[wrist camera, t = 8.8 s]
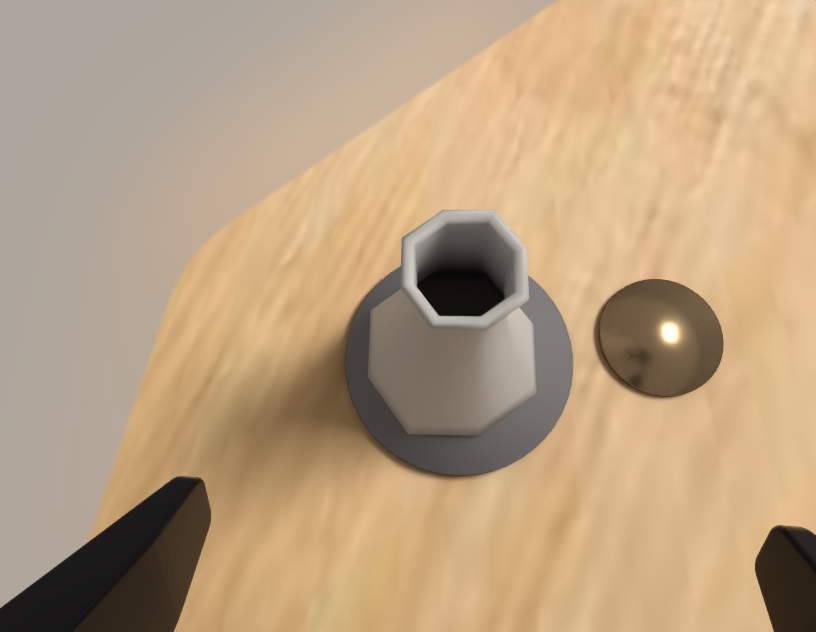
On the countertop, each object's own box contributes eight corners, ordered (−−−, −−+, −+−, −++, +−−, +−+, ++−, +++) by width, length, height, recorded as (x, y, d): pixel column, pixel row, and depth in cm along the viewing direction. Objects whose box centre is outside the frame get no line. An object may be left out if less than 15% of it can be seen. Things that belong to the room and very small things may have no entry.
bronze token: (713, 409, 22) (716, 409, 21) (589, 379, 22) (591, 378, 22) (726, 295, 23) (729, 294, 23) (609, 269, 23) (610, 267, 23)
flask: (502, 250, 23) (550, 102, 14) (564, 408, 22) (670, 363, 12) (345, 299, 23) (283, 181, 14) (393, 463, 21) (360, 463, 12)
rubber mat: (547, 503, 21) (549, 503, 21) (318, 440, 22) (316, 440, 22) (588, 280, 23) (591, 278, 23) (380, 233, 24) (379, 231, 24)
